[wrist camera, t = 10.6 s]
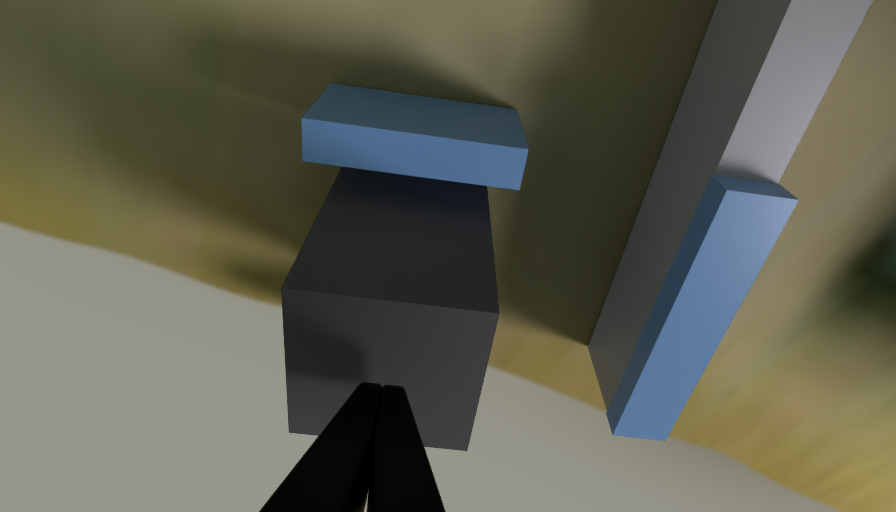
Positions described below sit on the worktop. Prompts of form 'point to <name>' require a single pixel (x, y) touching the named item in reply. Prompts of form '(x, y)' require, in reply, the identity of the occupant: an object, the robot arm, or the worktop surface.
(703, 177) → the grey and blue blocks
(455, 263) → the dark grey rectangular block
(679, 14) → the worktop surface
